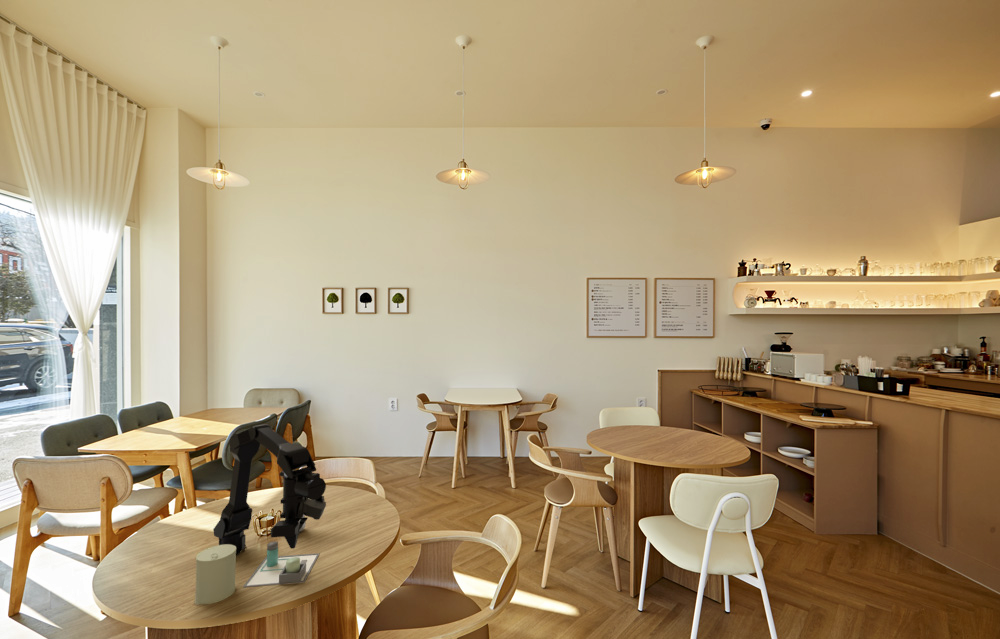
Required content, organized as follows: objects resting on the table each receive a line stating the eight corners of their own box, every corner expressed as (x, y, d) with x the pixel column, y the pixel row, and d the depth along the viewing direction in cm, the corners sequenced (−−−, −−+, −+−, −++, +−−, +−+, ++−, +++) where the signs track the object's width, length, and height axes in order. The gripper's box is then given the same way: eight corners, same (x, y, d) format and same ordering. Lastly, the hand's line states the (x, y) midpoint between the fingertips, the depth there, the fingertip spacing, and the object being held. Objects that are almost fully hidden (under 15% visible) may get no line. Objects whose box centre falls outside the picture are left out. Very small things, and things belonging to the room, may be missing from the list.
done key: (284, 575, 120) (284, 564, 120) (288, 568, 124) (288, 557, 124) (297, 573, 121) (297, 563, 121) (301, 567, 124) (301, 556, 124)
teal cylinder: (265, 567, 128) (265, 546, 128) (268, 562, 131) (269, 541, 131) (275, 566, 128) (276, 545, 128) (279, 561, 131) (279, 540, 131)
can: (190, 610, 108) (191, 562, 109) (199, 590, 117) (200, 546, 117) (232, 601, 112) (233, 554, 113) (238, 583, 121) (239, 539, 121)
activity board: (242, 589, 117) (243, 578, 118) (265, 559, 133) (265, 549, 133) (304, 584, 120) (304, 573, 120) (319, 555, 136) (319, 546, 136)
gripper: (314, 503, 115) (313, 562, 115) (331, 480, 134) (330, 531, 133) (270, 506, 114) (269, 565, 113) (293, 482, 132) (292, 533, 131)
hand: (293, 547), depth 123 cm, fingers closed
